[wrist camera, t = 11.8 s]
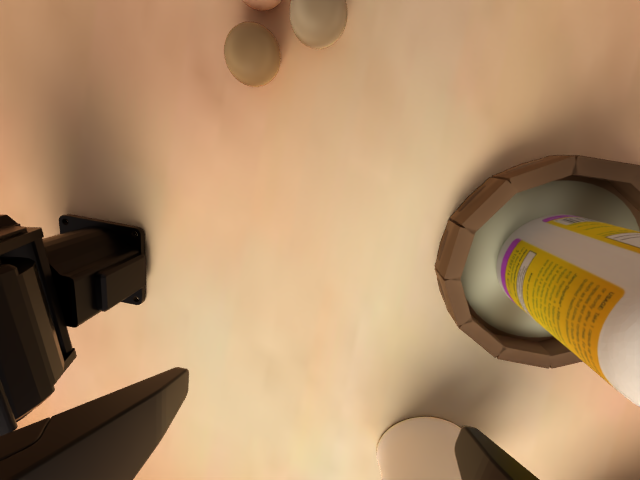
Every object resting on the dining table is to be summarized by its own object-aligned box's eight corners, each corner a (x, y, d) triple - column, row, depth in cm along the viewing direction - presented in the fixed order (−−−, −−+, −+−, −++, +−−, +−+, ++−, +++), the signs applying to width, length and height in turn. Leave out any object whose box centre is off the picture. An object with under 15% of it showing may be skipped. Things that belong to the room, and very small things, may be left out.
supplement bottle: (521, 321, 21) (766, 554, 9) (473, 250, 20) (675, 400, 8) (617, 271, 19) (1081, 468, 7) (571, 190, 18) (1024, 258, 6)
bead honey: (234, 87, 19) (213, 74, 16) (238, 31, 18) (216, 6, 15) (282, 95, 19) (269, 83, 16) (288, 39, 18) (276, 15, 15)
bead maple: (291, 52, 18) (280, 32, 15) (298, -9, 17) (288, -43, 14) (342, 60, 18) (341, 41, 15) (351, -1, 17) (352, -35, 14)
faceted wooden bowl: (415, 328, 23) (422, 345, 21) (469, 140, 19) (485, 138, 17) (599, 362, 22) (625, 384, 20) (695, 176, 18) (741, 179, 16)
